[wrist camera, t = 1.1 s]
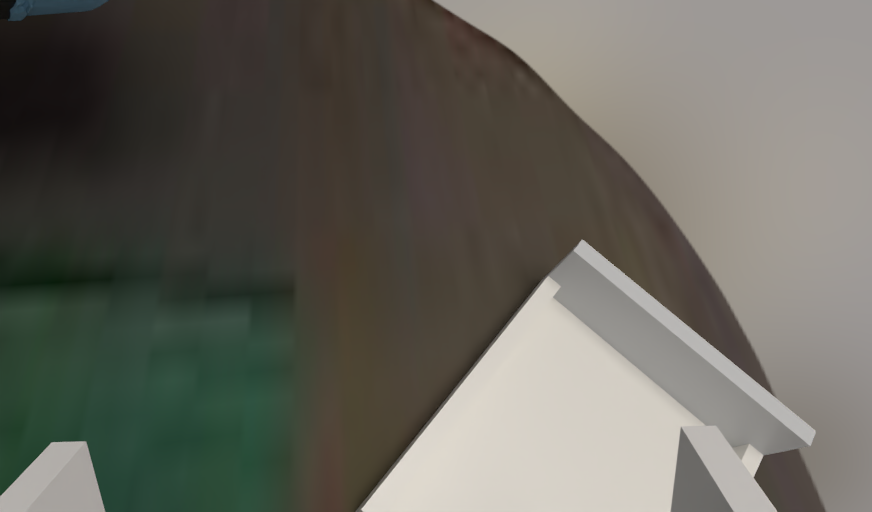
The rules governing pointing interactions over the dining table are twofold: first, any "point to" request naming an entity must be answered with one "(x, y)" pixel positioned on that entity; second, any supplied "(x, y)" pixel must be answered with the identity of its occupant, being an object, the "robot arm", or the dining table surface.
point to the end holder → (582, 407)
